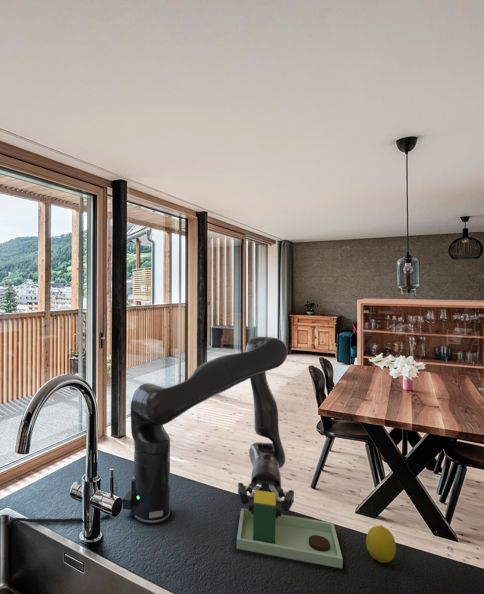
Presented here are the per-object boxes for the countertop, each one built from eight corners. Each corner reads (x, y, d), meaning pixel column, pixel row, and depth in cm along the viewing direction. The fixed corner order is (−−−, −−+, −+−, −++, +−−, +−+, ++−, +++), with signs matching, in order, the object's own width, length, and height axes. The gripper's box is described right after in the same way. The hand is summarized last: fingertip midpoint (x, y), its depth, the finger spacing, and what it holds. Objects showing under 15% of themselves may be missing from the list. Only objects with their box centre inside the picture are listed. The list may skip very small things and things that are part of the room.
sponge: (252, 542, 93) (253, 503, 93) (254, 526, 100) (254, 489, 99) (275, 546, 92) (275, 507, 92) (274, 529, 98) (275, 492, 98)
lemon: (399, 573, 85) (400, 535, 84) (370, 569, 86) (371, 531, 86) (389, 556, 90) (390, 520, 90) (362, 552, 91) (363, 517, 91)
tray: (236, 550, 91) (236, 539, 91) (241, 518, 104) (241, 507, 104) (342, 571, 85) (342, 558, 85) (333, 533, 98) (333, 522, 98)
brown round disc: (310, 549, 91) (310, 545, 91) (307, 538, 95) (307, 533, 95) (331, 553, 90) (331, 548, 90) (327, 541, 94) (327, 536, 94)
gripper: (238, 461, 112) (233, 491, 95) (294, 468, 108) (298, 501, 91) (238, 488, 112) (232, 523, 95) (294, 496, 108) (297, 534, 91)
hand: (264, 512), depth 93 cm, fingers closed on sponge, 4 cm apart
